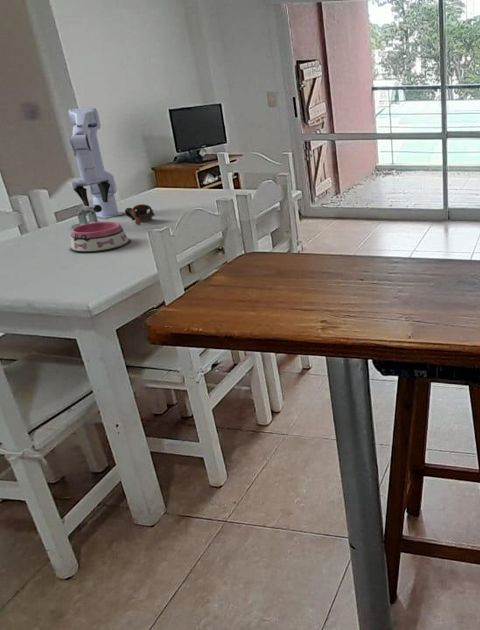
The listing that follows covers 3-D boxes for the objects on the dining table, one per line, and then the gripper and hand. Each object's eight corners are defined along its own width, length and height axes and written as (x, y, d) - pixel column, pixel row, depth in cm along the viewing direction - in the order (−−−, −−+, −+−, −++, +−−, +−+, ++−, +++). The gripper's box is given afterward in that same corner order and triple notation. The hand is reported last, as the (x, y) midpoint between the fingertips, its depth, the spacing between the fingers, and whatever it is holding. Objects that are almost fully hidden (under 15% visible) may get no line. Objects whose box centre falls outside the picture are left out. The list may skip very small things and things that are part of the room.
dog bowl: (140, 239, 211) (136, 221, 208) (102, 254, 195) (97, 235, 192) (99, 236, 216) (95, 219, 213) (59, 251, 199) (53, 232, 197)
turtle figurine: (159, 219, 240) (157, 204, 234) (151, 234, 234) (148, 219, 228) (130, 213, 239) (127, 198, 233) (121, 228, 233) (117, 213, 227)
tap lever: (104, 211, 222) (101, 203, 221) (96, 212, 220) (93, 204, 219) (89, 215, 230) (86, 208, 229) (82, 217, 228) (79, 209, 227)
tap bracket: (107, 226, 231) (102, 206, 228) (85, 231, 224) (80, 211, 221) (94, 223, 236) (89, 204, 233) (72, 228, 229) (66, 208, 226)
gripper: (73, 171, 208) (82, 208, 213) (111, 165, 219) (120, 201, 224) (63, 170, 211) (73, 206, 217) (101, 164, 222) (110, 199, 228)
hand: (96, 203), depth 221 cm, fingers open, 7 cm apart
